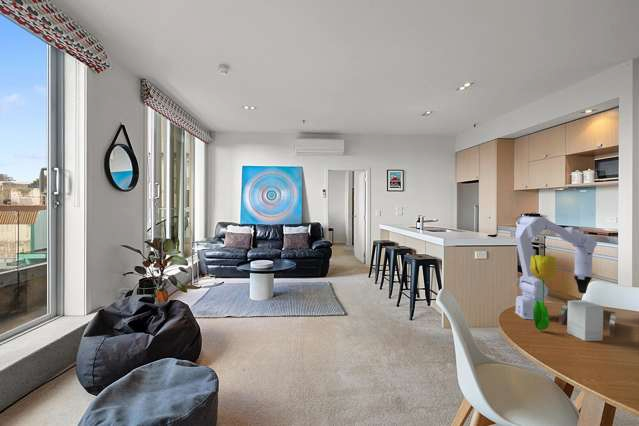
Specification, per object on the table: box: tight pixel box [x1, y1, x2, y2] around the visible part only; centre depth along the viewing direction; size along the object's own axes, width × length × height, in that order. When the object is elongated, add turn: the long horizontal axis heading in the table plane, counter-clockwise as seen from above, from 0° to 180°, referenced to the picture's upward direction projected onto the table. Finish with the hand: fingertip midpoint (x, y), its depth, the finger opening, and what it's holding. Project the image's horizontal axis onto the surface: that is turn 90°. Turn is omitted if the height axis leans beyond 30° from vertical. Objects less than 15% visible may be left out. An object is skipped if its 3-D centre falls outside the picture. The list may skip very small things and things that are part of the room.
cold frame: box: [558, 302, 617, 337], centre depth 123 cm, size 17×16×5 cm
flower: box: [530, 254, 557, 332], centre depth 115 cm, size 9×8×30 cm
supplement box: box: [566, 299, 604, 342], centre depth 111 cm, size 7×7×13 cm
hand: (582, 292), depth 131 cm, fingers closed
